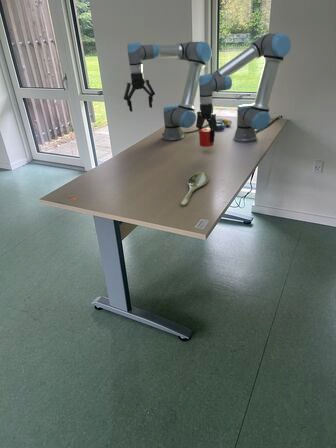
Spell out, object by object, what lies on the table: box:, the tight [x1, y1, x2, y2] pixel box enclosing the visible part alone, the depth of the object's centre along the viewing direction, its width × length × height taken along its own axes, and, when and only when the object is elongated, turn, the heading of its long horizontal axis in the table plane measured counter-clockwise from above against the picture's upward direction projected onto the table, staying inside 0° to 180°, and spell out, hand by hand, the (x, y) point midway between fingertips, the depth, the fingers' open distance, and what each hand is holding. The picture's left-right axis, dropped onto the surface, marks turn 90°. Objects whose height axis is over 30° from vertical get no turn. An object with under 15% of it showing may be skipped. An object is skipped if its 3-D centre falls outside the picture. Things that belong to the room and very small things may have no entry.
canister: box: [198, 127, 215, 148], centre depth 209 cm, size 9×9×10 cm
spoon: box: [180, 171, 210, 207], centre depth 170 cm, size 35×11×2 cm, turn 159°
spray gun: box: [216, 118, 233, 131], centre depth 263 cm, size 21×4×15 cm
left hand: (141, 109), depth 209 cm, fingers open, 13 cm apart
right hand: (206, 140), depth 210 cm, fingers closed on canister, 9 cm apart
